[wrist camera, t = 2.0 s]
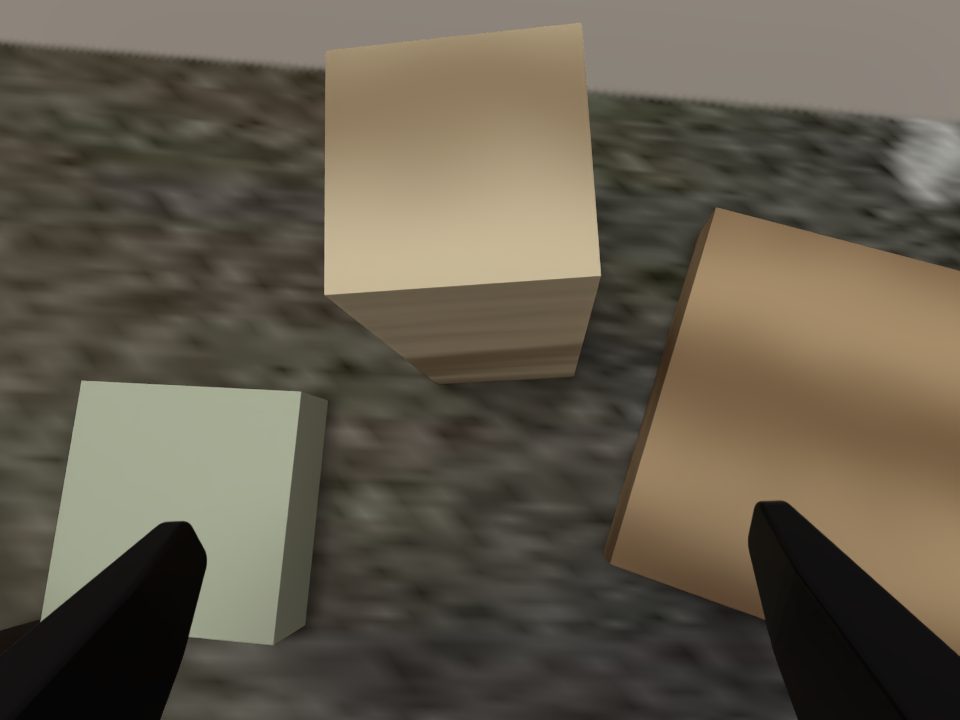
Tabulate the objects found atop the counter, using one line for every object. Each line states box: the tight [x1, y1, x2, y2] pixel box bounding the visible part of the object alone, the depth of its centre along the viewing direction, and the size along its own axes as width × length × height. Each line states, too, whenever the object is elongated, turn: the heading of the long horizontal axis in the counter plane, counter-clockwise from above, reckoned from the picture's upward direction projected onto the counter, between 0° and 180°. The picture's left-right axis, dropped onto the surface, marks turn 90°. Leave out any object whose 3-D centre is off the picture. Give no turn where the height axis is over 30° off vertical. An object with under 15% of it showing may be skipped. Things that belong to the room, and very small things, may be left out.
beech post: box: [324, 23, 601, 384], centre depth 18 cm, size 5×5×12 cm
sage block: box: [40, 381, 328, 645], centre depth 22 cm, size 8×8×3 cm
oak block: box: [603, 207, 960, 656], centre depth 20 cm, size 12×12×3 cm
